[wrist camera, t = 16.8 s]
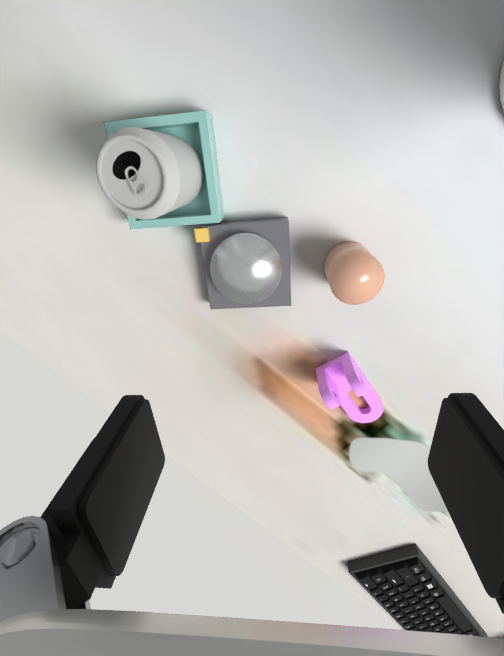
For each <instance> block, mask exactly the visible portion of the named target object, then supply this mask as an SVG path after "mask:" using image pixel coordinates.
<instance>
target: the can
mask: <svg viewBox="0 0 504 656" xmlns="http://www.w3.org/2000/svg"><path fill="white" fill-rule="evenodd" d="M97 177H98V180H99V184H100V187H101V189H102V190H103V192H104V194H105V196H106V197H107V198H108V199H109V200H110V201H111V203H112V204H113V205H114V206H116V207H117V208H118V209H119V210H120V211H122V212H124V213H125V214H127V215H129V216H130V217H134V218H138V219H142V220H145V219H155V218H157V217H159V216H162V215H164V214H166V213H168V212H171V211H173V210H175V209H177V208H179V207H182V206H184V205H186V204H188V203H190V202H191V201H192V200H193V199H194V198H195V197H196V196H197V195H198V193H199V191H200V189H201V187H202V181H203V169H202V163H201V161H200V159H199V156H198V154H197V152H196V151H195V150H194V149H193V147H192V146H191V145H190V144H189V143H188V142H186V141H185V140H183V139H182V138H180V137H176V136H172V135H168V134H164V133H160V132H155V131H151V130H147V129H142V128H138V127H128V128H121V129H119V130H118V131H116V132H114V133H112V134H111V135H110V136H109V137H108V138H107V140H106V141H105V142H104V144H103V145H102V148H101V150H100V152H99V156H98V159H97Z"/></svg>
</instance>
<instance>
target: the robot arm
mask: <svg viewBox="0 0 504 656" xmlns="http://www.w3.org/2000/svg"><path fill="white" fill-rule="evenodd" d="M499 92H500V101H501V105H502V108H503V111H504V61H503V65H502V69H501V73H500V83H499ZM164 462H165V456H164V452H163V448H162V445H161V441H160V438H159V434H158V431H157V427H156V424H155V420H154V417H153V413H152V410H151V406H150V403H149V401H148V400H146V399H144V397H143V396H142V395H125V396H123V397H122V398H121V400H120V401H119V403H118V404H117V406H116V407H115V409H114V410H113V412H112V413H111V415H110V416H109V418H108V419H107V421H106V422H105V424H104V425H103V427H102V428H101V430H100V431H99V433H98V434H97V436H96V437H95V438H94V439H93V441H92V442H91V443H90V445H89V446H88V448H87V449H86V451H85V452H84V454H83V455H82V456H81V458H80V459H79V461H78V462H77V464H76V466H75V467H74V468H73V470H72V471H71V473H70V474H69V476H68V477H67V479H66V480H65V482H64V483H63V485H62V486H61V488H60V489H59V491H58V492H57V493H56V495H55V496H54V498H53V499H52V501H51V502H50V504H49V505H48V507H47V508H46V510H45V511H44V513H43V514H42V516H41V517H36V516H29V517H24V518H21V519H19V520H16V521H14V522H12V523H11V524H9V525H7V526H6V527H4V528H3V529H2V530H0V656H504V639H502V638H491V637H481V636H470V635H459V634H446V633H433V632H420V631H407V630H393V629H381V628H368V627H354V626H341V625H327V624H313V623H298V622H285V621H271V620H256V619H243V618H228V617H213V616H198V615H181V614H167V613H152V612H136V611H135V612H134V611H113V610H91V608H90V603H89V599H90V598H91V596H92V593H93V591H94V589H95V587H98V588H111V587H112V585H113V582H114V580H115V577H116V576H119V575H120V574H121V573H122V572H123V570H124V567H125V565H126V562H127V559H128V557H129V554H130V552H131V549H132V547H133V544H134V542H135V539H136V536H137V534H138V531H139V528H140V526H141V523H142V521H143V518H144V516H145V513H146V510H147V508H148V505H149V503H150V500H151V498H152V495H153V492H154V490H155V487H156V485H157V482H158V479H159V477H160V474H161V472H162V469H163V466H164ZM428 467H429V470H430V473H431V475H432V477H433V480H434V482H435V484H436V486H437V488H438V490H439V492H440V494H441V496H442V499H443V501H444V503H445V505H446V507H447V509H448V512H449V514H450V516H451V518H452V520H453V522H454V524H455V527H456V529H457V531H458V533H459V535H460V537H461V539H462V542H463V544H464V546H465V548H466V550H467V552H468V554H469V556H470V559H471V561H472V563H473V565H474V567H475V569H476V571H477V574H478V576H479V578H480V580H481V582H482V584H483V586H484V588H485V590H486V592H487V593H488V595H489V596H490V597H491V598H496V601H497V603H498V605H499V607H500V609H501V611H502V613H503V614H504V430H503V429H502V427H501V426H500V425H499V424H498V422H497V421H496V420H495V419H494V418H493V416H492V415H491V414H490V413H489V411H488V410H487V409H486V408H485V406H484V405H483V404H482V403H481V401H480V400H479V399H478V398H477V397H476V396H475V395H474V394H472V393H451V394H450V395H449V396H448V398H444V399H443V401H442V404H441V408H440V412H439V417H438V421H437V425H436V429H435V433H434V437H433V441H432V445H431V449H430V453H429V457H428Z"/></svg>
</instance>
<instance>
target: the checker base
mask: <svg viewBox="0 0 504 656" xmlns="http://www.w3.org/2000/svg"><path fill="white" fill-rule="evenodd" d="M194 232H195V238H196V243H197V242H200V244H201V251H202V257H203V263H204V270H205V276H206V283H207V289H208V296H209V302H210V308H211V309H225V308H248V307H270V306H291V287H290V254H289V222H288V218H275V219H262V220H248V221H235V222H221V223H208V224H201V225H200V226H198V228H195V229H194ZM240 232H251V233H256V234H259V235H261V236H263V237H265V238H266V239H268V240H269V241H270V242H271V243H272V244H273V245H274V246H275V248H276V249H277V251H278V253H279V255H280V258H281V262H282V275H281V280H280V283H279V285H278V287H277V288H276V290H275V291H274V292H273V294H272V295H270V296H269V297H268V298H266V299H265V300H263V301H261V302H258V303H254V304H240V303H236V302H234V301H231V300H229V299H227V298H226V297H225V296H223V295H222V294H221V293H220V292H219V291H218V290H217V288H216V287H215V285H214V283H213V281H212V278H211V274H210V262H211V258H212V255H213V253H214V251H215V250H216V248H217V247H218V245H219V244H220V243H221V242H222V241H223V240H224V239H225V238H227V237H229V236H231V235H233V234H236V233H240Z"/></svg>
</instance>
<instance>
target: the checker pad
mask: <svg viewBox="0 0 504 656" xmlns="http://www.w3.org/2000/svg"><path fill="white" fill-rule="evenodd" d="M210 274H211V278H212V281H213V283H214V285H215V287H216V288H217V290H218V291H219V292H220V293H221V294H222V295H223V296H225V297H226V298H227V299H229V300H231V301H234V302H236V303H240V304H254V303H258V302H261V301H263V300H265V299H266V298H268V297H269V296H270V295H272V294H273V292H274V291H275V290H276V288H277V287H278V285H279V283H280V280H281V275H282V262H281V258H280V255H279V253H278V251H277V249H276V248H275V246H274V245H273V244H272V243H271V242H270V241H269V240H268V239H266V238H265V237H263V236H261V235H259V234H256V233H251V232H240V233H236V234H233V235H231V236H229V237H227V238H225V239H224V240H223V241H222V242H221V243H220V244H219V245H218V247H217V248H216V250H215V251H214V253H213V255H212V258H211V262H210Z"/></svg>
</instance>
